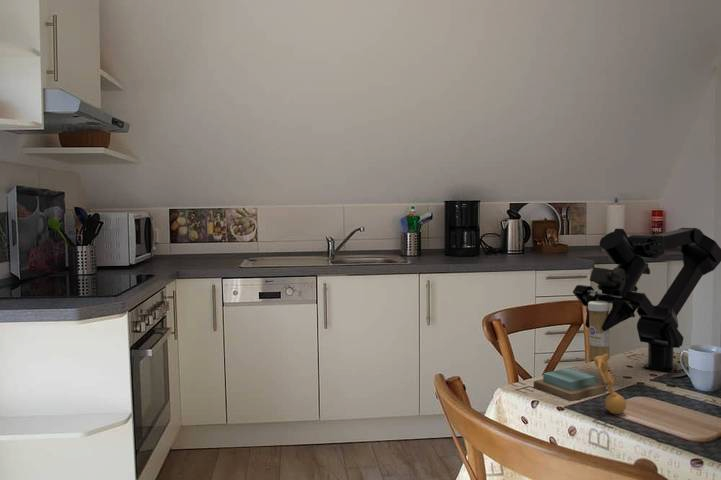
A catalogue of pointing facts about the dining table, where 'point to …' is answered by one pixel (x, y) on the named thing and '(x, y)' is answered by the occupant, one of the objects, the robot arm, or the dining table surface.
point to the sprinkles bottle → (598, 328)
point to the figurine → (614, 400)
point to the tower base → (570, 393)
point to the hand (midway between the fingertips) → (594, 328)
